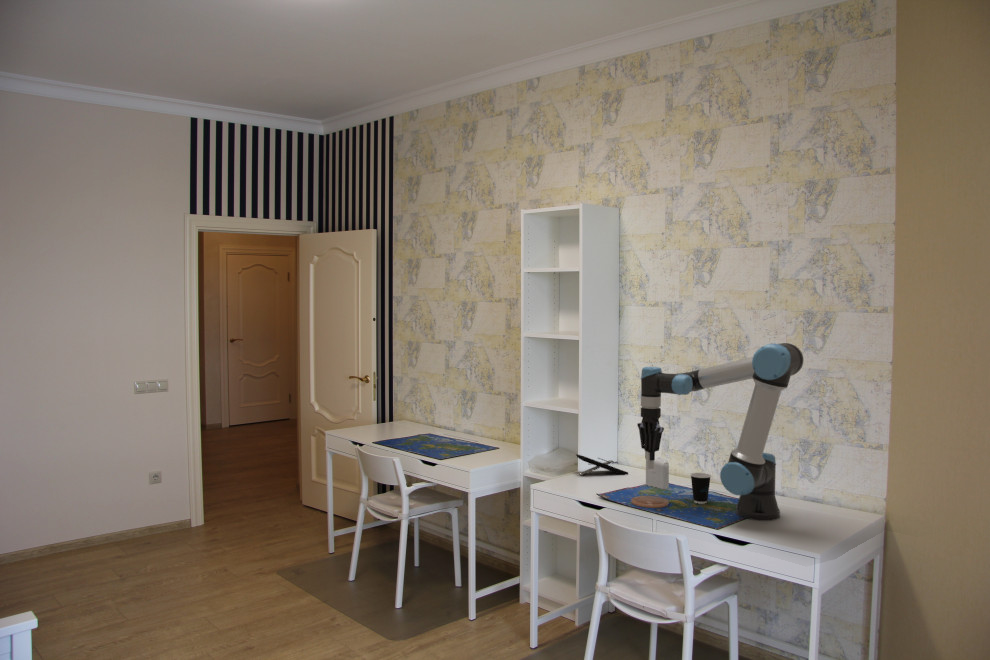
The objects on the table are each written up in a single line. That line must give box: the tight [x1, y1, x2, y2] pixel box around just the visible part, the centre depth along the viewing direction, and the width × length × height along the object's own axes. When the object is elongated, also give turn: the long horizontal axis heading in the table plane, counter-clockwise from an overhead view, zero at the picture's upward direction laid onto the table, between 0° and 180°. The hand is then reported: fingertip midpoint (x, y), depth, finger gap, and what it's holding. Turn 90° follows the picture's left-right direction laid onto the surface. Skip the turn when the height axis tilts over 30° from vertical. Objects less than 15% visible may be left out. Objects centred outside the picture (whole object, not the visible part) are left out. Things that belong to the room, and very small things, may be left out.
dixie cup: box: [690, 472, 712, 505], centre depth 281 cm, size 8×8×11 cm
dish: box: [630, 495, 670, 509], centre depth 280 cm, size 14×14×1 cm
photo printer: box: [645, 457, 670, 490], centre depth 305 cm, size 10×4×12 cm, turn 39°
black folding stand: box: [575, 454, 629, 476], centre depth 329 cm, size 22×10×10 cm, turn 104°
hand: (649, 468), depth 280 cm, fingers closed
